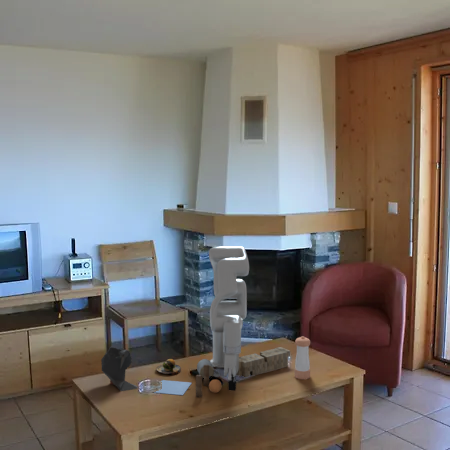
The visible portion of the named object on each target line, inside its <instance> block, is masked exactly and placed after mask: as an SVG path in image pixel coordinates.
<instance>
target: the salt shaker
mask: <svg viewBox="0 0 450 450" xmlns="http://www.w3.org/2000/svg"><path fill="white" fill-rule="evenodd" d="M294 342H295V346H296V356H295V361H294V362H295V363H294V364H295V367H294V374H293V375H294V378H295V379H298V380H308V379H310V378H311V369H310V364H311V363H310V356H309V352H310V351H309V348H310V347H309V346H310V345H311V340H310V339H309V338H307V337H305V336H303V335H302V336H299V337H297V338H296V339H295V341H294Z"/></svg>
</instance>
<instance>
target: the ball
mask: <svg viewBox="0 0 450 450" xmlns="http://www.w3.org/2000/svg"><path fill="white" fill-rule="evenodd" d="M208 388H209V390H210V392H211V393H219V392H220V391H221V390H222V383H221V381H220V380H219V379H217V378H216V379H212V380H211V381H209V386H208Z"/></svg>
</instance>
